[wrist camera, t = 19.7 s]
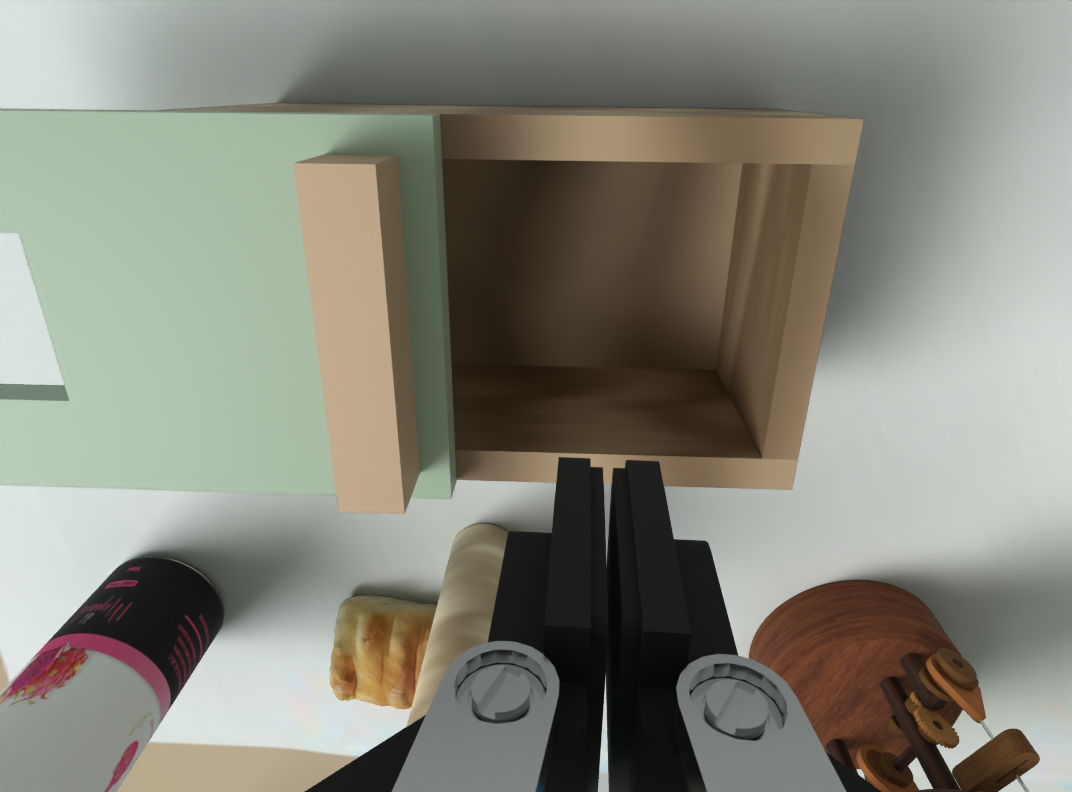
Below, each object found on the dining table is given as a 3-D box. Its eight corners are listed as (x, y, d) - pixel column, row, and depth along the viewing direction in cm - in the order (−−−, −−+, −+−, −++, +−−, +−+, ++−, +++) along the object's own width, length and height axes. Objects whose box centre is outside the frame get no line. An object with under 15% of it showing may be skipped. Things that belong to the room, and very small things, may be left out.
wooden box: (773, 108, 27) (863, 119, 19) (734, 386, 32) (791, 489, 24) (275, 103, 28) (153, 110, 20) (312, 375, 33) (228, 472, 24)
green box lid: (439, 113, 19) (414, 119, 16) (456, 480, 24) (439, 542, 21) (-244, 105, 20) (-404, 109, 17) (-91, 463, 25) (-191, 521, 22)
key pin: (530, 515, 35) (504, 815, 21) (529, 588, 37) (505, 908, 23) (438, 512, 36) (349, 807, 21) (443, 585, 38) (364, 900, 23)
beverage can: (121, 535, 37) (-137, 796, 23) (239, 575, 38) (55, 851, 24) (104, 619, 40) (-138, 898, 26) (214, 655, 41) (36, 945, 27)
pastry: (506, 599, 38) (500, 651, 35) (499, 686, 41) (493, 742, 38) (339, 584, 38) (316, 635, 35) (344, 672, 41) (323, 727, 38)
